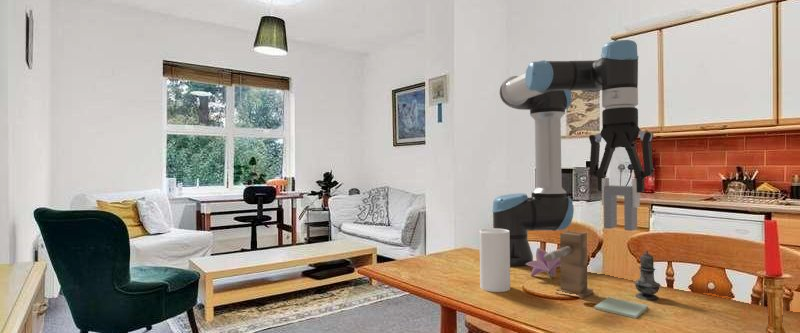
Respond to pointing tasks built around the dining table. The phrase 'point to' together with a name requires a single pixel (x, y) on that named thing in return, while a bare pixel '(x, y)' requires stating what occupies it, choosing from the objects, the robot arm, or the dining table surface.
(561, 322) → the dining table surface
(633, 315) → the mat
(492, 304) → the dining table surface
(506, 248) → the cup
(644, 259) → the salt shaker
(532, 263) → the lily
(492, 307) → the dining table surface
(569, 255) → the peg stand
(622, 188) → the grey slotted block
